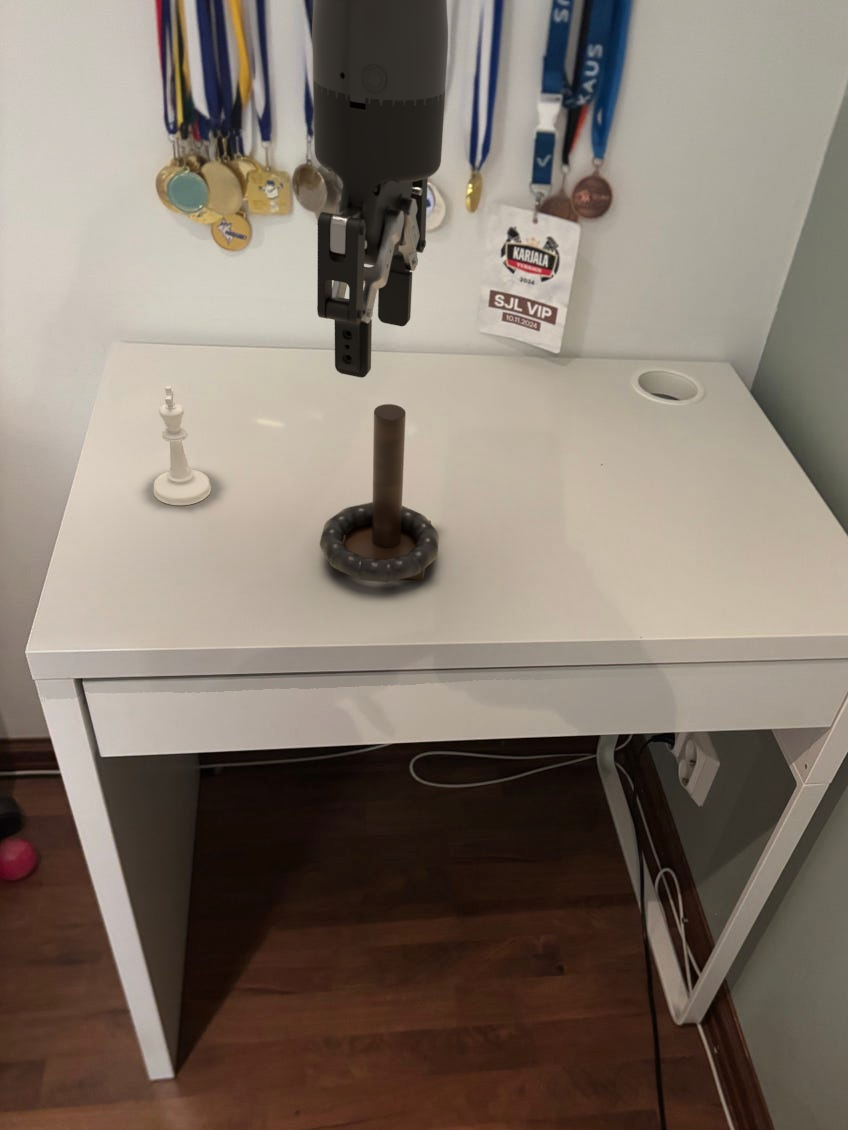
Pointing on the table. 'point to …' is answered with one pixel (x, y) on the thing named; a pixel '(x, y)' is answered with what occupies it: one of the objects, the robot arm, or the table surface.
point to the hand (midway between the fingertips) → (374, 347)
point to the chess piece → (178, 462)
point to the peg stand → (385, 493)
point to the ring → (371, 566)
